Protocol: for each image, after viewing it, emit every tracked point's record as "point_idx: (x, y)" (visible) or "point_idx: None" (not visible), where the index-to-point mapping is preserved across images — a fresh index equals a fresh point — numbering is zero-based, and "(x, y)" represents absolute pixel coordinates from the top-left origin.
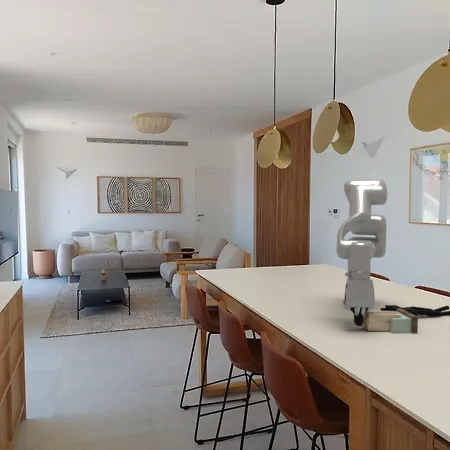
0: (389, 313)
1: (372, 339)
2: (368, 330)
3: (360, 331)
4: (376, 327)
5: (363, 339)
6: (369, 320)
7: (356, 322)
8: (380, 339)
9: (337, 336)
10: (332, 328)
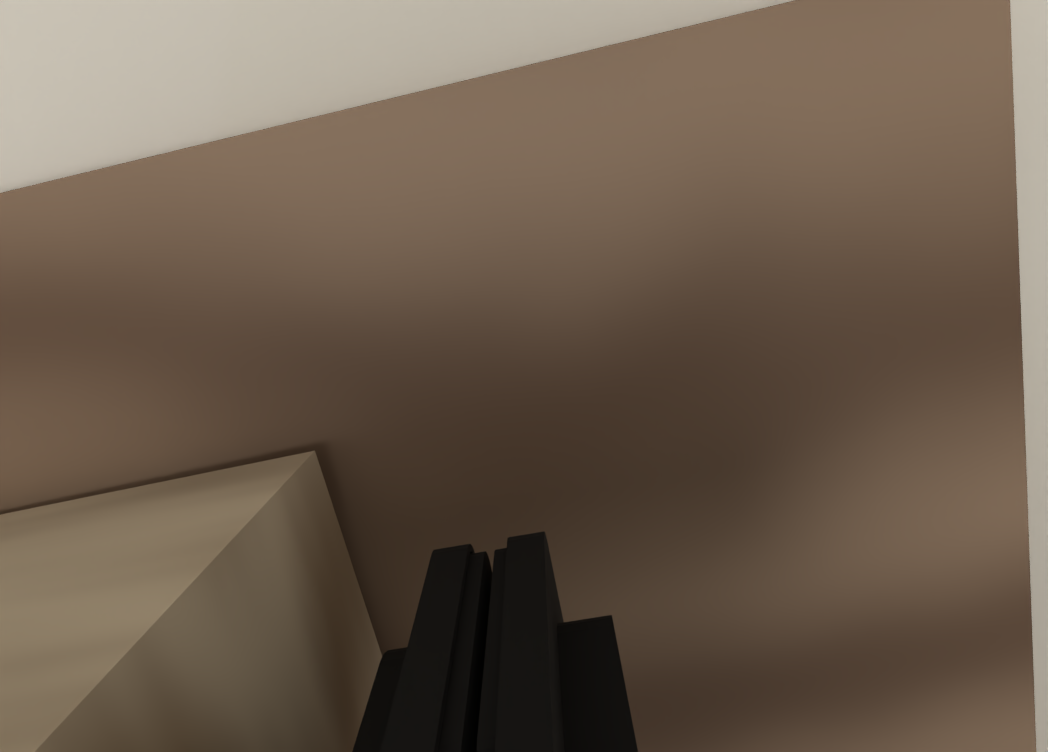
0: None
1: (291, 78)
2: (307, 453)
3: None
4: (83, 521)
5: (493, 47)
6: (167, 589)
7: (579, 624)
8: (115, 104)
9: (1029, 193)
10: None
